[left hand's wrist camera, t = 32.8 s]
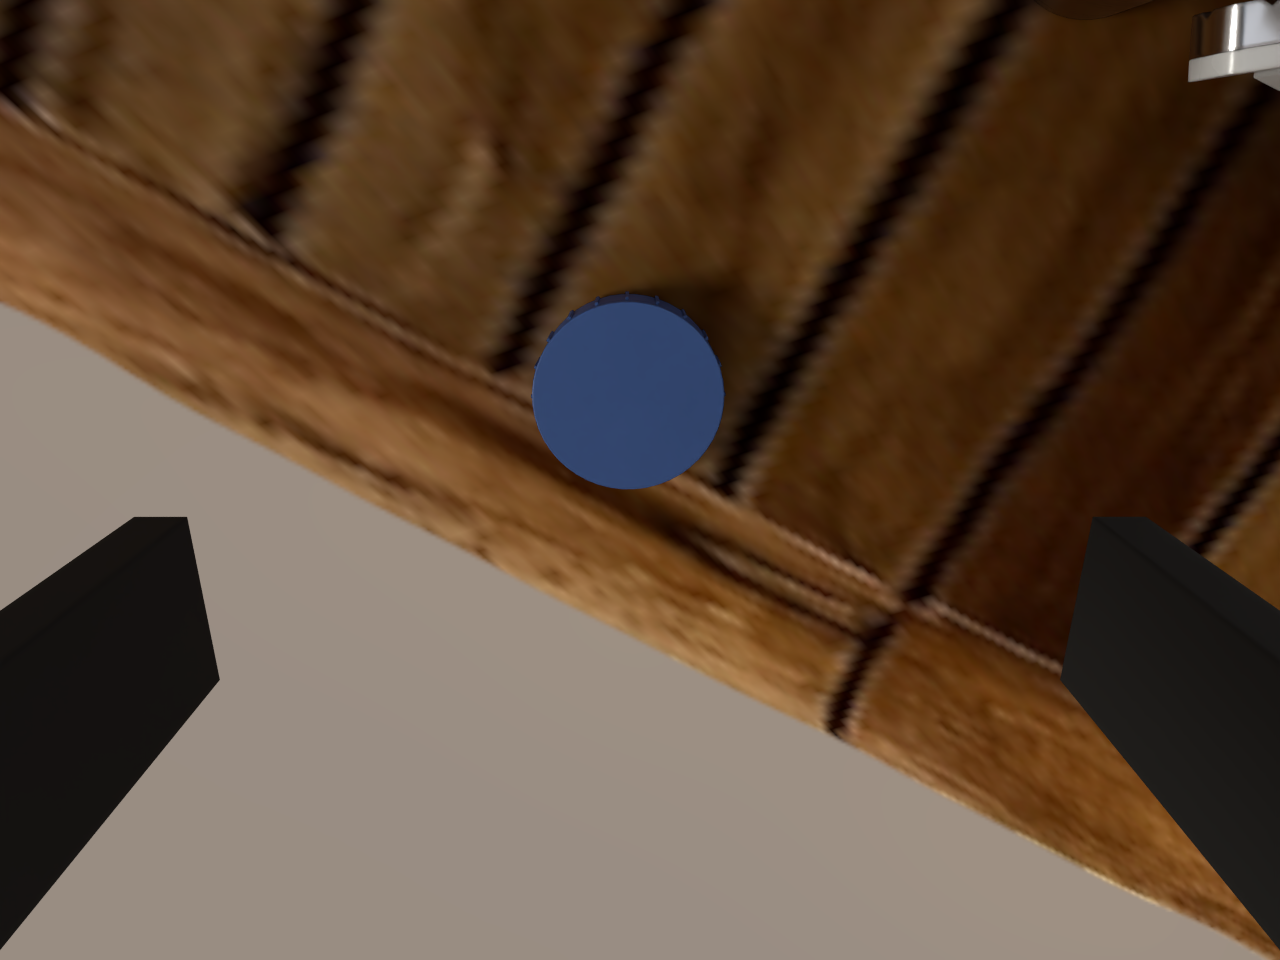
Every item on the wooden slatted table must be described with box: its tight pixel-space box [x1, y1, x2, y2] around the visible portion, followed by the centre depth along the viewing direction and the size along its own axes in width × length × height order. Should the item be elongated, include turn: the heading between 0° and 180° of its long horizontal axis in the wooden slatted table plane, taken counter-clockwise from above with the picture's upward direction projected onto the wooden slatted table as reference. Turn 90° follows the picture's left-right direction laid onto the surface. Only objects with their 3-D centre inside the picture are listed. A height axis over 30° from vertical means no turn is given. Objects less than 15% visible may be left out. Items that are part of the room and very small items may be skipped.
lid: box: [531, 292, 725, 489], centre depth 28 cm, size 6×6×2 cm
